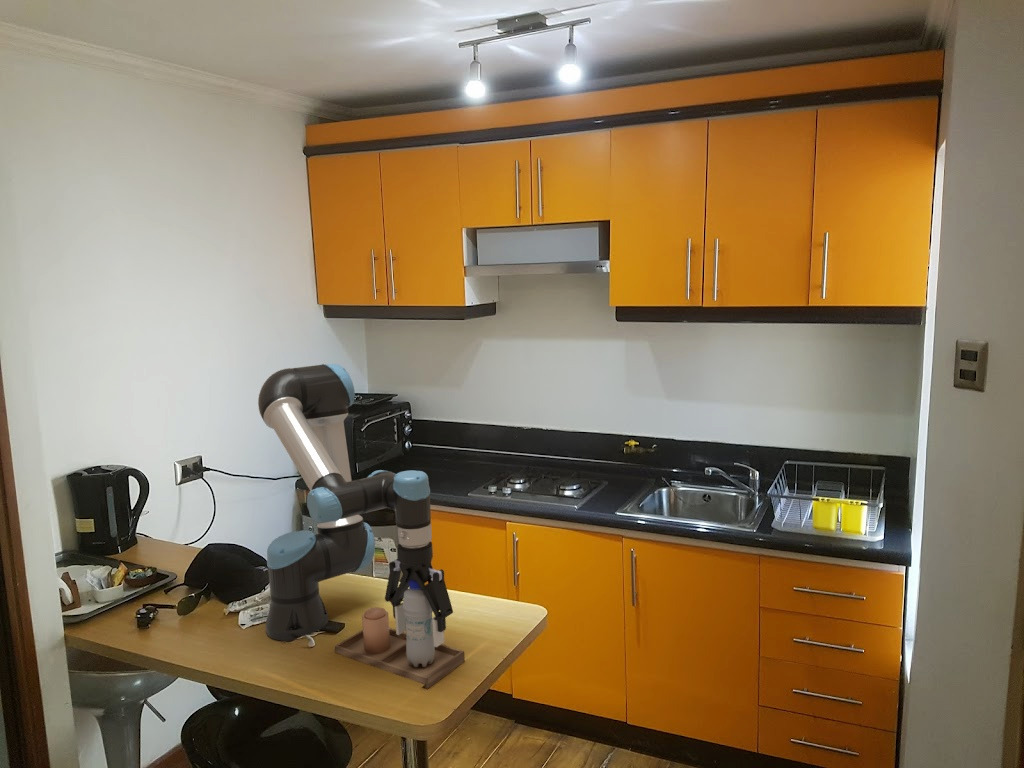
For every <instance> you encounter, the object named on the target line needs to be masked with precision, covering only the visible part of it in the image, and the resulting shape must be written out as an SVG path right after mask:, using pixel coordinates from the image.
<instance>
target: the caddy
mask: <svg viewBox="0 0 1024 768" xmlns="http://www.w3.org/2000/svg"><path fill="white" fill-rule="evenodd" d="M389 633H390V648H389V649H388V650H387V651H385V652H383V653H379V654H369V653H367V652H365V650H364V640H363V629H361V630H360V631H358V632H356V633H355V634H353V635H352V636H349V637H348V638H346V639H344V640H342V641H341V642H339V643H337V644H336V645H334V653H335V654H338V655H341V656H343V657H346V658H350V659H352V660H355V661H358V662H360V663H363V664H366V665H369V666H371V667H374V668H377V669H380V670H382V671H386V672H388V673H391V674H394V675H397V676H399V677H403V678H405V679H408V680H411V681H414V682H417V683H418V684H419V683H420V684H422V687H421V688H422V689H424V690H428V689H430V688H431V687H432V686H434V685H435V684H437V683H438V682H439V681H441V680H442V679H443V678H444V677H446V676H447V675H449V674H450V673H451V672H453V671H454V670H455V669H457V668H458V667H460V666H461V665H462V664H463V663H465V662H466V660H465V651H464V650H462V649H459V648H456V647H452V646H449V645H447V644H443V643H442V644H441V645H439V646H438V647H435V655H434V660H433V662H432V663H431V664H428V663H427V665H426V667H423V666H422V664H418V667H414V665H410V664H409V663H408V660H407V655H406V641H407V638H406V631H405V632H403V633H401V634H400V635H397V634H396V628H392V627H389Z"/></svg>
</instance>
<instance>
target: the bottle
mask: <svg viewBox="0 0 1024 768" xmlns="http://www.w3.org/2000/svg"><path fill="white" fill-rule="evenodd" d="M402 603H403V609H404V611H403V612H404V614H405V621H406V631H405V633H406V638H407V641H406V655H407V660H408V663H409V664H410V665H414V667H418V664H422V666H423V667H426V665H427V663H428V664H431V663H432V662H433V660H434V655H435V647H434V639H433V620H432V618H433V610H432V608H431V606H430V604H429V602H428V600H427V598H426V596H425V594H424V592H423V591H422V590H421V589H420V587H419V585H418V583H417V582H416V581H415V580H409V588H408V589H407V590H406V591H405V592H404V598H403V601H402Z"/></svg>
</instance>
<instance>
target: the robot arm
mask: <svg viewBox="0 0 1024 768" xmlns="http://www.w3.org/2000/svg"><path fill="white" fill-rule="evenodd" d="M351 377H352V376H351V375H350V373H348V371H347V370H346V368H345V367H343V366H342V365H340V364H338V363H329V364H327V363H326V364H324V363H322V364H316V365H308V366H301V367H292V368H291V367H290V368H284V369H280V370H278V371H276V372H273V373H272V374H271V375H270V376H269V377H268V378H267V379H266V380H265V382H263V384H262V386H261V388H260V390H259V394H258V398H257V399H258V401H257V402H258V403H257V404H258V411H259V415H260V416H261V419H262V421H263V422H264V424H265V425H266V426H267V427H268V428H270V429H272V430H274V432H275V433H276V435H277V437H278V439H279V440H280V442H281V444H282V445H283V448H284V449H285V450H286V452H287V453H288V454H287V455H289V457H290V459H291V461H292V463H293V464H294V466H295V467H296V469H297V471H298V472H299V474H300V476H301V477H302V479H303V481H304V483H305V485H306V486H307V487H308V489H309V492H308V494H307V497H306V507H307V510H308V512H309V516H310V517H311V519H312V520H313V521H314V522H315V523H317V525H316V527H317V528H316V529H317V533H316V534H314V532H312V531H311V530H307V529H305V530H303V529H302V530H294V531H290V532H287V533H284V534H282V535H280V536H277V538H274V539H273V540H272V541H271V543H269V545H268V546H267V555H266V556H267V559H266V566H267V570H268V583H269V592H270V593H269V596H270V605H269V609H268V615H267V618H266V621H265V632H266V635H267V636H268V637H269V638H270V639H273V640H275V641H282V642H292V641H296V640H298V639H299V638H301V637H306V636H309V635H311V634H314V633H316V632H318V631H320V630H322V629H323V628H325V626H326V625H328V623H329V622H328V621H329V612H328V611H327V608H326V606H325V603H324V601H323V599H322V597H321V594H320V586H319V585H320V584H319V582H322V581H326V580H329V579H332V578H336V577H339V576H343V575H346V574H350V573H356V572H358V571H360V570H361V569H365V568H367V567H369V565H370V564H371V563H372V561H373V559H374V556H375V552H376V542H375V541H376V540H375V535H374V532H373V528H372V527H371V526H370V524H368V523H367V522H365V521H364V518H363V516H362V515H363V514H367V513H371V512H375V511H379V510H383V509H390V510H391V511H394V513H395V525H396V526H395V527H396V541H397V543H398V545H397V546H396V547H397V559H394V560H393V561H390V562H389V563H388V567H389V573H388V580H387V585H386V591H385V595H384V600H385V602H389V603H390V604H391V606H392V615H393V619H395V621H394V623H395V630H396V634H397V635H400V634H401V633H403V632H405V633H406V621H405V614H404V612H403V611H404V609H403V599H404V592H405V591H406V590H407V589H409V580H415V581H416V582H417V583H418V585H419V587H420V589H421V590H422V591H423V592H424V594H425V596H426V598H427V600H428V602H429V604H430V606H431V608H432V610H433V612H432V614H433V615H434V617H433V616H432V622H433V639H434V647H438V646H439V645H441V644H443V643H445V630H446V628H447V623H446V622H447V621H446V618H448V617H449V616H450V615H452V614H453V613H454V610H453V607H452V603H451V599H450V595H449V592H448V589H447V585H446V582H445V571H444V569H438V570H437V569H434V568H433V564H432V560H433V555H434V553H433V542H432V540H433V534H432V533H433V532H432V520H431V519H432V517H431V515H432V514H431V513H432V512H431V487H430V482H429V476H428V474H427V473H426V472H424V471H422V470H412V469H411V470H404V471H399V472H397V473H395V472H392V471H389V470H384V469H383V470H382V469H379V470H378V469H377V470H375V471H373V472H372V473H370V474H369V475H368V476H367V477H364V478H360V479H355V480H352V474H351V467H350V461H349V459H350V458H349V452H348V445H347V439H346V438H347V437H346V430H345V423H344V422H345V420H346V418H347V417H348V415H349V408H350V407H351V406H352V405H353V404H354V402H355V396H356V393H355V392H356V391H355V386H354V383H353V379H352V378H351ZM401 573H402V575H401ZM400 577H401V578H400Z"/></svg>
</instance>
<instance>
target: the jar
mask: <svg viewBox="0 0 1024 768" xmlns="http://www.w3.org/2000/svg"><path fill="white" fill-rule="evenodd" d="M389 617H390V616H389V612H388V611H387V610H386V609H385V608H384V607H379V606H377V607H376V606H374V607H370V608H367V609H366V610H364V613H363V614H362V616H361V623H362V630H363V640H364V650H365V652H367V653H369V654H379V653H383V652H385V651H387V650H388V649H389V648H390V633H389V628H390V622H389V621H390V618H389Z"/></svg>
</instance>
